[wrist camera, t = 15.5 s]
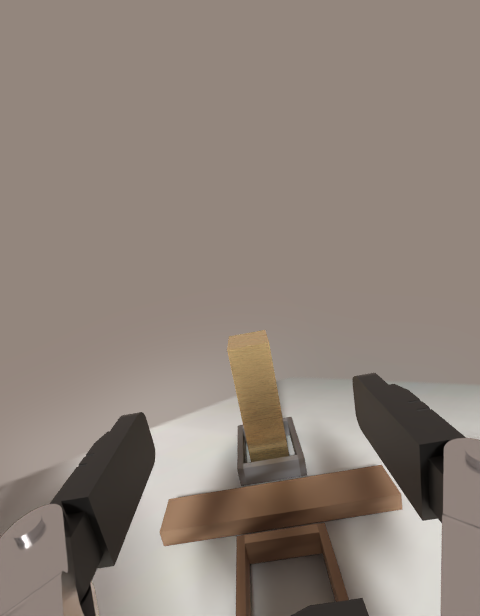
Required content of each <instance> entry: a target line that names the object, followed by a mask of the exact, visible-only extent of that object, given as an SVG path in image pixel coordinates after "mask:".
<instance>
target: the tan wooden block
mask: <svg viewBox="0 0 480 616" xmlns="http://www.w3.org/2000/svg"><path fill="white" fill-rule="evenodd" d="M227 350H228V355H229V360H230V365H231V370H232V374H233V379H234V384H235V389H236V393H237V398H238V403H239V407H240V412H241V417H242V421H243V426H244V431H245V435H246V440H247V445H248V450H249V454H250V459H251V462H256V461H262V460H268V459H274V458H280V457H287V456H289V452H288V447H287V441H286V436H285V430H284V424H283V419H282V413H281V407H280V402H279V396H278V390H277V385H276V379H275V374H274V368H273V362H272V357H271V351H270V345H269V341H268V338H267V335H266V332H265V330H262V331H257V332H251V333H246V334H240V335H235V336H230V337H229V340H228V348H227Z"/></svg>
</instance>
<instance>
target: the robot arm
mask: <svg viewBox="0 0 480 616" xmlns="http://www.w3.org/2000/svg"><path fill="white" fill-rule="evenodd" d="M353 391H354V401H355V411H356V417H357V421H358V424H359V426H360V428H361V430H362V432H363V434H364V435H365V437H366V438H367V439H368V441H369V442H370V444H371V445H372V447H373V448H374V450H375V451H376V453H377V454H378V456H379V457H380V459H381V460H382V462H383V463H384V465H385V466H386V467H387V469H388V470H389V472H390V473H391V475H392V476H393V478H394V479H395V481H396V482H397V484H398V485H399V487H400V488H401V490H402V491H403V493H404V494H405V496H406V497H407V498H408V500H409V501H410V503H411V504H412V506H413V507H414V509H415V510H416V512H417V513H418V515H419V516H420V518H421V519H422V521H424V520H430V519H437V518H438V519H439V520H440V521H441V523H442V559H441V616H480V440H478V439H472V438H466V437H464V436H463V435H462V434H461V433H460V432H458V431H457V430H456V429H455V428H454V427H452V426H451V425H450V424H449V423H448V422H446V421H445V420H444V419H443V418H442V417H440V416H439V415H438V414H437V413H436V412H434V411H433V410H432V409H431V410H430V408H429V407H428V406H427V405H426V404H425V403H423V402H421V401H420V399H419V398H417V397H416V396H415V395H414V394H413V393H411V392H410V391H409V390H407V389H404V388H402V387H400V386H398V385H395V384H391V385H388V384H387V383H386V382H385V381H384V380H383V379H382V378H380V377H379V376H378V375H377V374H376V373H371V374H365V375H359V376H354V377H353ZM154 462H155V447H154V443H153V440H152V436H151V433H150V430H149V426H148V423H147V420H146V417H145V415H144V413H142V412H140V413H134V414H128V415H123V416H121V417H120V418H119V419H118V421H117V422H116V423H115V425H114V426H113V428H112V429H111V431H110V432H107V433H106V434H105V435H104V436H102V437H101V438H100V439H99V440H98V441H96V443H94V445H93V446H92V447H91V449H90V450H89V451H88V453H87V454H86V457H84V458H83V460H82V461H81V462H80V464H79V467H77V468H76V469H75V470H74V472H73V473H72V474H71V476H70V477H69V478H68V480H67V481H66V482H65V484H64V485H63V487H62V488H61V489H60V491H59V492H58V493H57V495H56V496H55V497H54V499H53V500H52V501H51V503H50V504H48V505H44V506H41V507H39V508H37V509H35V510H33V511H31V512H29V513H28V514H26V515H25V516H23V517H22V518H20V519H19V520H18V521H17V522H15V523H14V524H13V525H12V526H11V527H10V528H9V529H8V530H7V531H6V532H5V533H4V534H3V536H2V537H1V538H0V616H99V611H98V605H97V599H96V594H95V588H94V585H93V583H92V579H93V576H94V574H95V572H96V570H97V568H103V567H110V566H114V565H115V563H116V560H117V558H118V555H119V552H120V550H121V547H122V545H123V542H124V540H125V537H126V535H127V532H128V529H129V527H130V524H131V522H132V519H133V517H134V514H135V512H136V509H137V506H138V504H139V501H140V499H141V496H142V494H143V491H144V489H145V486H146V483H147V481H148V478H149V476H150V473H151V471H152V468H153V466H154ZM291 616H369V615H368V612H367V609H366V607H365V604H364V601H363V598H359V599H352V600H345V601H338V602H331V603H324V604H317V605H310V606H308V607H306V608H304V609H302V610H301V611H299V612H297V613H295V614H293V615H291Z"/></svg>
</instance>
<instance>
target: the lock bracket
mask: <svg viewBox="0 0 480 616" xmlns="http://www.w3.org/2000/svg"><path fill="white" fill-rule="evenodd" d="M282 419H283V424H284V430H285V436H286V435H290V437H291V441H292V445H293V448H294V452H295V455H293V456H287V457H280V458H274V459H268V460H262V461H256V462H250V463H246V442H247V440H246V435H245V431H244V426H243V425H240V426H238V459H237V470H238V474H239V479H240V483H241V486H244V485H250V484H256V483H263V482H269V481H275V480H281V479H287V478H293V477H300V476H306V475H307V471H306V465H305V459H304V455H303V452H302V449H301V446H300V443H299V440H298V436H297V433H296V430H295V427H294V424H293V420H292V417H287V418H282ZM401 509H402V499H401V493H400V492H399V490H398V489H397V487H396V486H395V484H394V483H393V481H392V480H391V478H390V477H389V475H388V474H387V472H386V471H385V469H384V468H383V466H382V465H378V466H372V467H365V468H359V469H353V470H347V471H341V472H334V473H328V474H322V475H316V476H310V477H303V478H297V479H291V480H285V481H279V482H273V483H266V484H260V485H254V486H248V487H242V488H235V489H229V490H223V491H217V492H211V493H205V494H198V495H192V496H186V497H180V498H174V499H169V501H168V505H167V508H166V512H165V515H164V519H163V522H162V526H161V529H160V535H161V538H162V541H163V544H164V546H169V545H175V544H181V543H188V542H194V541H201V540H207V539H214V538H220V537H227V536H233V535H240V534H246V533H252V532H259V531H265V530H272V529H278V528H285V527H291V526H298V525H304V524H311V523H317V522H323V521H330V520H336V519H343V518H349V517H356V516H362V515H369V514H375V513H381V512H388V511H394V510H401ZM321 553H322V554H323V557H324V561H325V565H326V568H327V572H328V575H329V579H330V583H331V586H332V590H333V594H334V597H335V601H336V602H338V601H345V600H349V599H348V596H347V592H346V589H345V586H344V583H343V580H342V576H341V573H340V570H339V567H338V564H337V560H336V557H335V554H334V551H333V548H332V545H331V541H330V538H329V535H328V532H327V529H326V525H325V523H319V524H312V525H306V526H299V527H293V528H286V529H280V530H273V531H267V532H261V533H254V534H248V535H241V536H237V562H236V616H251V592H250V564H255V563H261V562H268V561H275V560H281V559H288V558H295V557H301V556H308V555H314V554H321Z"/></svg>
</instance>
